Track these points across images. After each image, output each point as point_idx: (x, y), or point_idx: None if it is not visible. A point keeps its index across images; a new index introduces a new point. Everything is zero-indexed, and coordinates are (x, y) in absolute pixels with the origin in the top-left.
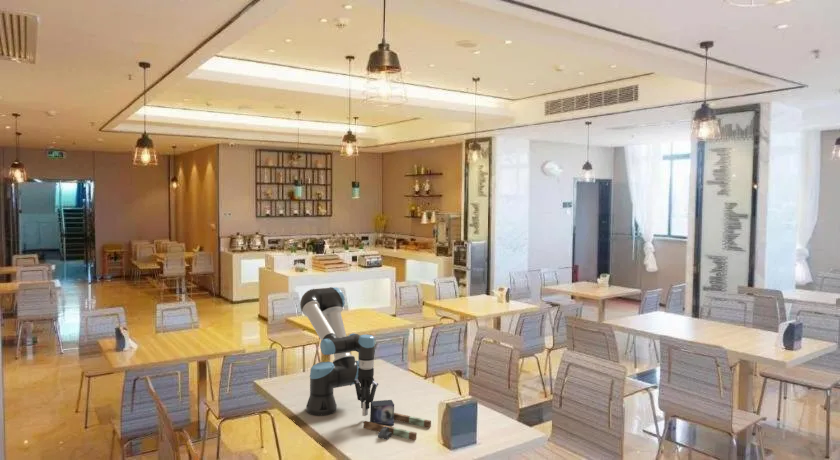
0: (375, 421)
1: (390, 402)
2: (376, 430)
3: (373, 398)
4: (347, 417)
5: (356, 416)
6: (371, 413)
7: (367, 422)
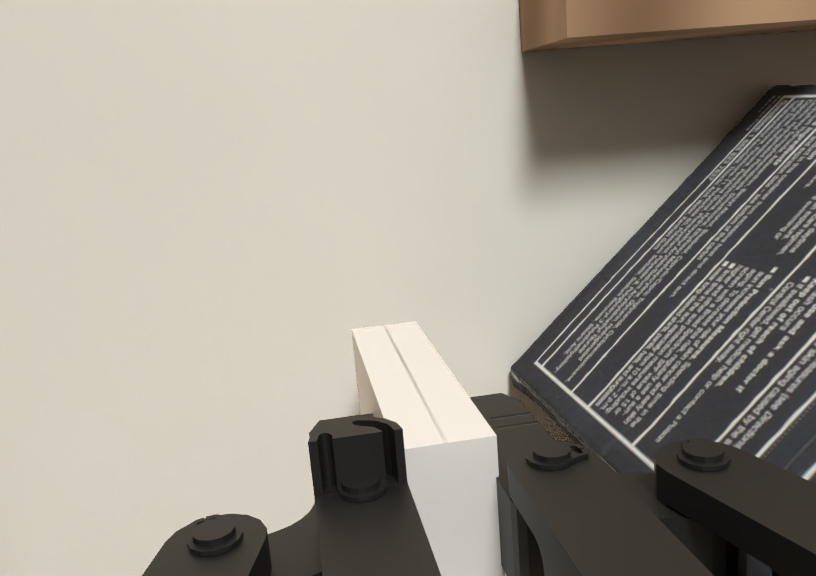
0: None
1: None
2: None
3: (806, 492)
4: (10, 453)
5: (121, 310)
6: None
7: None
